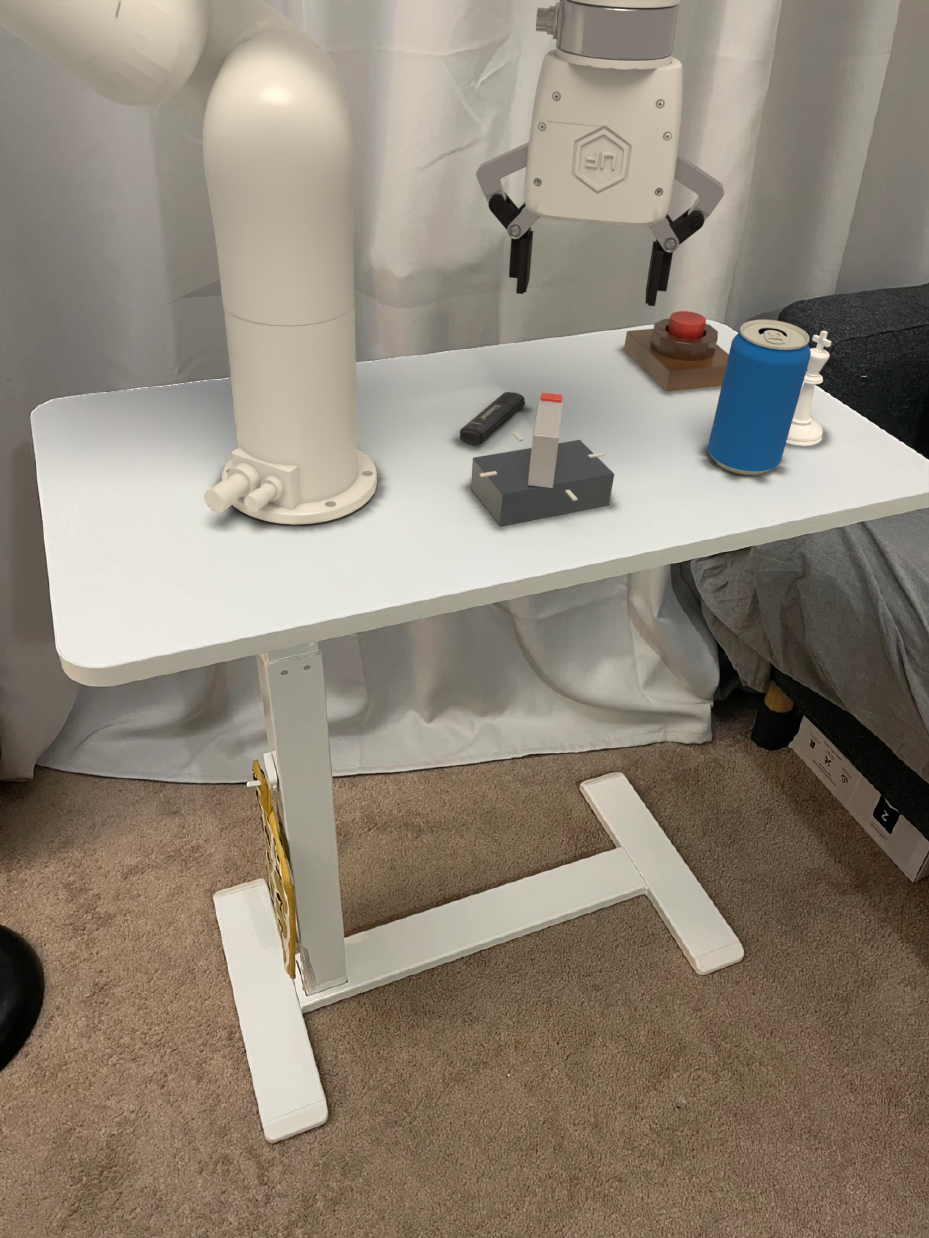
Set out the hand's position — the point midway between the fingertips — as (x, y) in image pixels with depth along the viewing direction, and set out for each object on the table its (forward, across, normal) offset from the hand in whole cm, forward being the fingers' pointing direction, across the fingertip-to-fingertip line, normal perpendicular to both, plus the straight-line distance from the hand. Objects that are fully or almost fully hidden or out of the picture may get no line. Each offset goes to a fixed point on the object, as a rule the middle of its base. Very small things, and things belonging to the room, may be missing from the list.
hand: (586, 293), depth 75 cm
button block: (+16, +10, +26) cm, 32 cm away
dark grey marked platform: (+16, -2, -3) cm, 17 cm away
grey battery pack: (+13, -2, -3) cm, 14 cm away
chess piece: (+17, +21, +14) cm, 30 cm away
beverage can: (+17, +16, +7) cm, 24 cm away
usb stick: (+16, -7, +8) cm, 20 cm away
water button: (+13, +10, +26) cm, 30 cm away
